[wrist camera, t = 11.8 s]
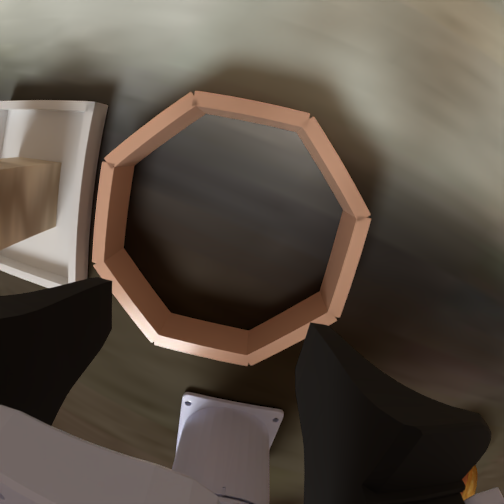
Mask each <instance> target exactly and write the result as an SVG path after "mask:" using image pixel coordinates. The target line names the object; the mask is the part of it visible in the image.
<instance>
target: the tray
mask: <svg viewBox="0 0 504 504" xmlns="http://www.w3.org/2000/svg"><path fill="white" fill-rule="evenodd" d="M107 109H108V105H105V104H102V103H98V102H93V101H69V100H17V101H0V159H2V158H13V157H22V158H30V159H38V160H46V161H53V162H61V163H62V164H61V172H60V181H59V190H58V202H57V216H56V227H54V228H51V229H49V230H46V231H44V232H41V233H39V234H37V235H34V236H32V237H29V238H27V239H25V240H23V241H20V242H18V243H16V244H13V245H11V246H9V247H7V248H4V249H2V250H0V270H1V271H4V272H6V273H9V274H11V275H14V276H17V277H19V278H22V279H25V280H27V281H30V282H33V283H36V284H39V285H41V286H44V287H47V288H52V287H57V286H60V285H64V284H68V283H72V282H76V281H80V280H84V279H88V253H89V236H90V223H91V212H92V202H93V194H94V185H95V178H96V171H97V164H98V157H99V151H100V145H101V140H102V134H103V129H104V124H105V119H106V114H107Z"/></svg>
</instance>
